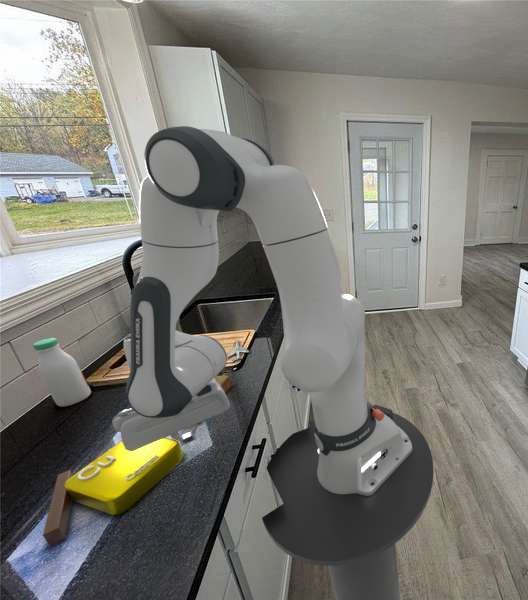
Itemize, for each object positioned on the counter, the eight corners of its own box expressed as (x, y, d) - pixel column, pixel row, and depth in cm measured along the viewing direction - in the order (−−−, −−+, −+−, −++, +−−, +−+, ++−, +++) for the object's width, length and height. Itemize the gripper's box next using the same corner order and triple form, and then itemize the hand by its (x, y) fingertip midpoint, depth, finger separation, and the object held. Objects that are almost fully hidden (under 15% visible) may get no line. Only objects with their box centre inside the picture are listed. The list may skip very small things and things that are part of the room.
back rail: (76, 479, 69) (70, 469, 67) (65, 538, 57) (58, 527, 56) (64, 484, 67) (57, 474, 66) (50, 546, 56) (42, 535, 55)
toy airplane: (247, 338, 127) (246, 333, 126) (250, 363, 109) (249, 357, 108) (226, 344, 124) (225, 338, 123) (226, 370, 106) (224, 364, 105)
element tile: (119, 518, 60) (109, 501, 58) (67, 499, 64) (57, 483, 62) (188, 455, 73) (182, 439, 71) (142, 443, 77) (135, 428, 76)
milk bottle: (92, 397, 95) (63, 340, 88) (56, 411, 90) (22, 351, 83) (91, 387, 101) (63, 332, 93) (57, 399, 96) (25, 342, 88)
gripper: (107, 425, 60) (133, 476, 65) (223, 380, 72) (237, 427, 77) (108, 408, 65) (133, 457, 70) (217, 369, 77) (231, 413, 82)
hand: (188, 441), depth 74 cm, fingers closed
